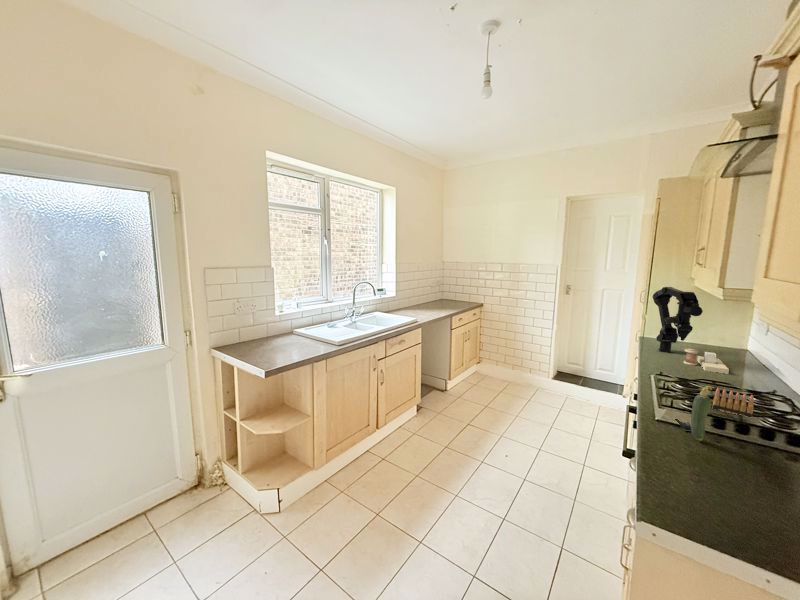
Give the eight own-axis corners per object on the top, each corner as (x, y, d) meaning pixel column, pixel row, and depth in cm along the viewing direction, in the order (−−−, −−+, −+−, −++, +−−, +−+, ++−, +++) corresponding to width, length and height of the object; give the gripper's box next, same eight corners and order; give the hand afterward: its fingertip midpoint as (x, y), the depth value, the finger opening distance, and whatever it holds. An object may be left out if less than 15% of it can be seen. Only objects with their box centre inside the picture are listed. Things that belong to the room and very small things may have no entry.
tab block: (712, 364, 178) (714, 352, 176) (714, 367, 174) (716, 354, 173) (703, 363, 180) (704, 351, 179) (704, 365, 177) (706, 353, 175)
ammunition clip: (750, 425, 118) (756, 394, 116) (751, 427, 117) (756, 396, 115) (710, 414, 125) (715, 386, 124) (710, 416, 124) (714, 387, 122)
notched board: (697, 360, 187) (697, 355, 187) (718, 363, 182) (718, 358, 182) (704, 370, 171) (705, 366, 170) (728, 374, 166) (728, 369, 165)
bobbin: (682, 361, 186) (683, 348, 184) (696, 363, 182) (697, 349, 181) (684, 364, 181) (685, 350, 179) (698, 366, 177) (700, 352, 176)
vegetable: (685, 437, 111) (693, 383, 108) (692, 434, 112) (700, 380, 109) (701, 444, 107) (709, 388, 103) (708, 441, 108) (716, 385, 105)
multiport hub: (684, 432, 114) (685, 426, 114) (661, 416, 125) (661, 411, 125) (697, 432, 114) (698, 426, 114) (672, 417, 125) (673, 411, 124)
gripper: (664, 309, 199) (661, 333, 201) (668, 314, 184) (665, 340, 186) (688, 311, 193) (684, 335, 195) (694, 316, 177) (690, 343, 180)
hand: (680, 338), depth 189 cm, fingers open, 9 cm apart
